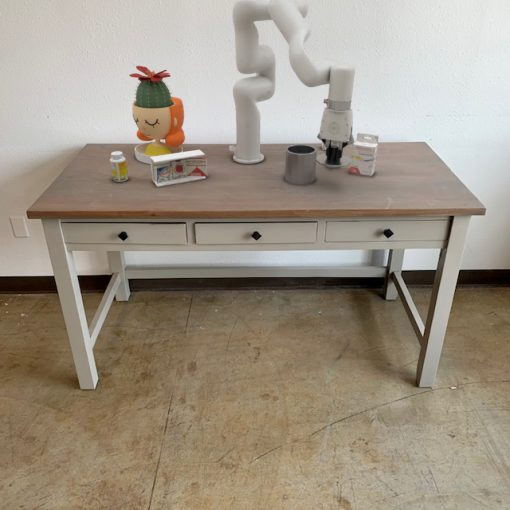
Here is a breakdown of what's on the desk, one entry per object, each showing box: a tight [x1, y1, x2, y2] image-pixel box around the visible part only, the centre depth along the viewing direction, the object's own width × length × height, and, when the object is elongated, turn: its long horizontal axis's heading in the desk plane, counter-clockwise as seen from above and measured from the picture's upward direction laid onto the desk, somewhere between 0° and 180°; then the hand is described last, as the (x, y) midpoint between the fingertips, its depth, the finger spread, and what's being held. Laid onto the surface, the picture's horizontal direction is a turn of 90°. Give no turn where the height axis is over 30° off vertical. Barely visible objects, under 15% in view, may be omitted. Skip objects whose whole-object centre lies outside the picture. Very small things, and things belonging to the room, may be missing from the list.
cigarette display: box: [150, 149, 208, 188], centre depth 176 cm, size 20×6×9 cm, turn 115°
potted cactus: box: [129, 65, 186, 165], centre depth 192 cm, size 22×22×35 cm
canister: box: [284, 143, 318, 185], centre depth 176 cm, size 11×11×12 cm
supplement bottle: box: [109, 150, 129, 183], centre depth 175 cm, size 6×6×10 cm
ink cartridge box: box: [349, 132, 380, 177], centre depth 180 cm, size 9×5×15 cm, turn 65°
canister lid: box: [316, 145, 351, 168], centre depth 165 cm, size 12×12×6 cm
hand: (333, 158), depth 166 cm, fingers closed on canister lid, 2 cm apart
